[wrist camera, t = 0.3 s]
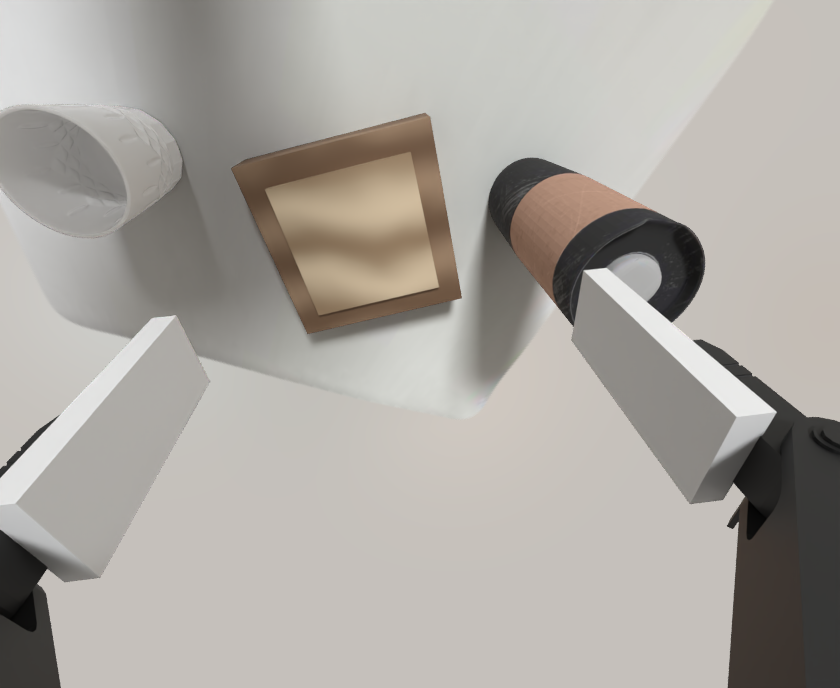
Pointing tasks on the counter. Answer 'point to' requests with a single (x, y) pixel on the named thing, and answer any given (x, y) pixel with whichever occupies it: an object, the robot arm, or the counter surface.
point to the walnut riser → (356, 223)
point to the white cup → (85, 165)
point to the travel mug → (593, 237)
